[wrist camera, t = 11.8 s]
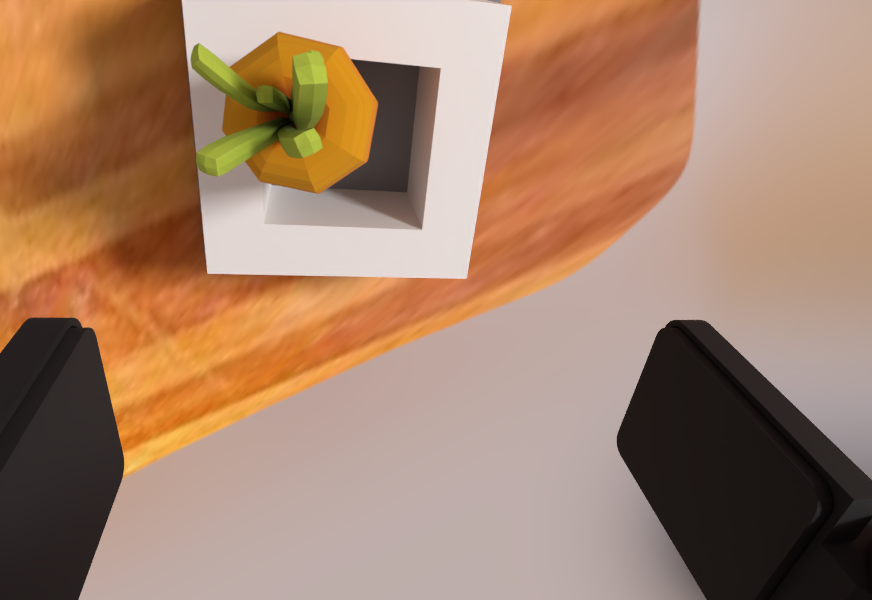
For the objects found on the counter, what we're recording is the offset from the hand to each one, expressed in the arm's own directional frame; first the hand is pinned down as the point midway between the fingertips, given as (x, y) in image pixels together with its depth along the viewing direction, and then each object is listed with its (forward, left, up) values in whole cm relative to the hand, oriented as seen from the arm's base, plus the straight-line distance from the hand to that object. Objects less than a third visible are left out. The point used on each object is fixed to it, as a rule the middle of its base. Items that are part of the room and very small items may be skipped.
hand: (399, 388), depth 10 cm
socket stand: (0, 0, -22) cm, 22 cm away
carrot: (0, 0, -21) cm, 21 cm away
